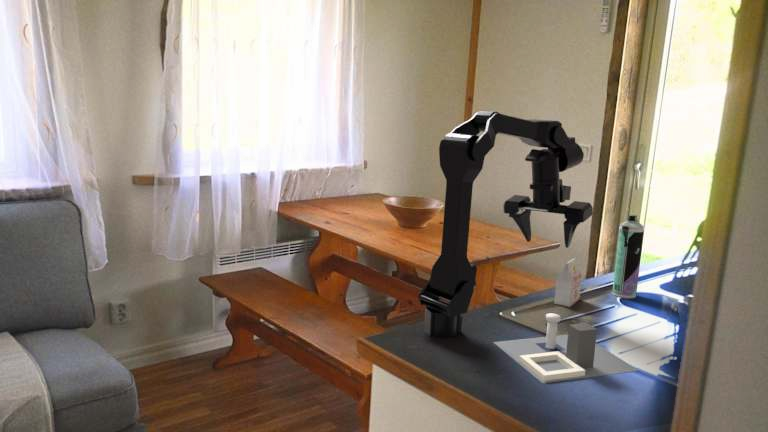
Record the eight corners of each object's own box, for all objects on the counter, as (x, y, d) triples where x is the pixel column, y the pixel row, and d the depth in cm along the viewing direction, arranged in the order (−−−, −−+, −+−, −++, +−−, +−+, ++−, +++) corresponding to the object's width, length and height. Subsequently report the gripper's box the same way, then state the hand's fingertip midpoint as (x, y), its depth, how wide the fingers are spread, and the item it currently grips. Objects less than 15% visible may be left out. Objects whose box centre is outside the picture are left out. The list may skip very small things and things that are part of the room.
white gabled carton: (554, 303, 142) (558, 262, 140) (564, 296, 147) (567, 256, 145) (569, 307, 140) (573, 265, 138) (579, 299, 145) (583, 259, 143)
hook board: (541, 391, 99) (545, 347, 98) (492, 349, 115) (495, 311, 113) (638, 378, 105) (643, 337, 103) (578, 340, 121) (582, 303, 119)
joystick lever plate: (543, 381, 99) (547, 340, 98) (518, 360, 107) (522, 323, 105) (601, 373, 103) (606, 334, 101) (574, 354, 110) (577, 317, 109)
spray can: (633, 300, 146) (643, 218, 142) (610, 295, 149) (619, 215, 145) (637, 294, 151) (647, 215, 147) (614, 290, 153) (623, 212, 150)
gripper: (602, 170, 132) (602, 237, 137) (523, 165, 144) (526, 227, 149) (581, 185, 124) (582, 255, 129) (500, 178, 136) (504, 242, 141)
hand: (547, 244), depth 137 cm, fingers open, 9 cm apart
